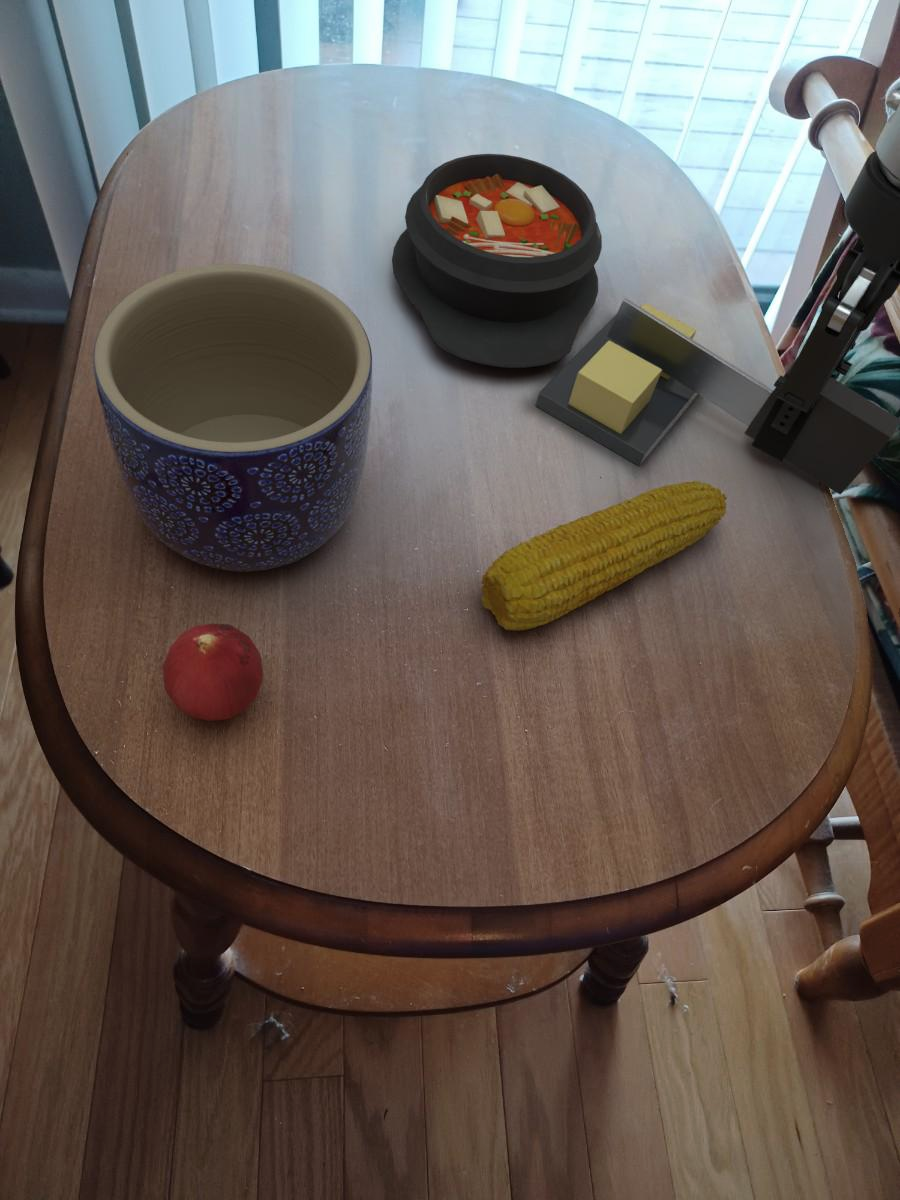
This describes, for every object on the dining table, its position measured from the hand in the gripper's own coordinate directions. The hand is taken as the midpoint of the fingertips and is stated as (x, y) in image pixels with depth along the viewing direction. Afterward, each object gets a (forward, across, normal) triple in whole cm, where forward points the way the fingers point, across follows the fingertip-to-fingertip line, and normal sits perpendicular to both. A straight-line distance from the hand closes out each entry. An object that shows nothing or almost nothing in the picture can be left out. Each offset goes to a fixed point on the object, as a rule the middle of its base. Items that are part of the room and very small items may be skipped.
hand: (776, 439), depth 77 cm
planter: (+2, +32, -28) cm, 42 cm away
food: (+2, +20, -5) cm, 20 cm away
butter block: (0, +6, -13) cm, 14 cm away
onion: (+2, +45, -19) cm, 49 cm away
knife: (0, 0, -5) cm, 5 cm away
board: (+2, +2, -13) cm, 13 cm away
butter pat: (0, -2, -13) cm, 13 cm away
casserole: (+2, -2, -29) cm, 29 cm away
